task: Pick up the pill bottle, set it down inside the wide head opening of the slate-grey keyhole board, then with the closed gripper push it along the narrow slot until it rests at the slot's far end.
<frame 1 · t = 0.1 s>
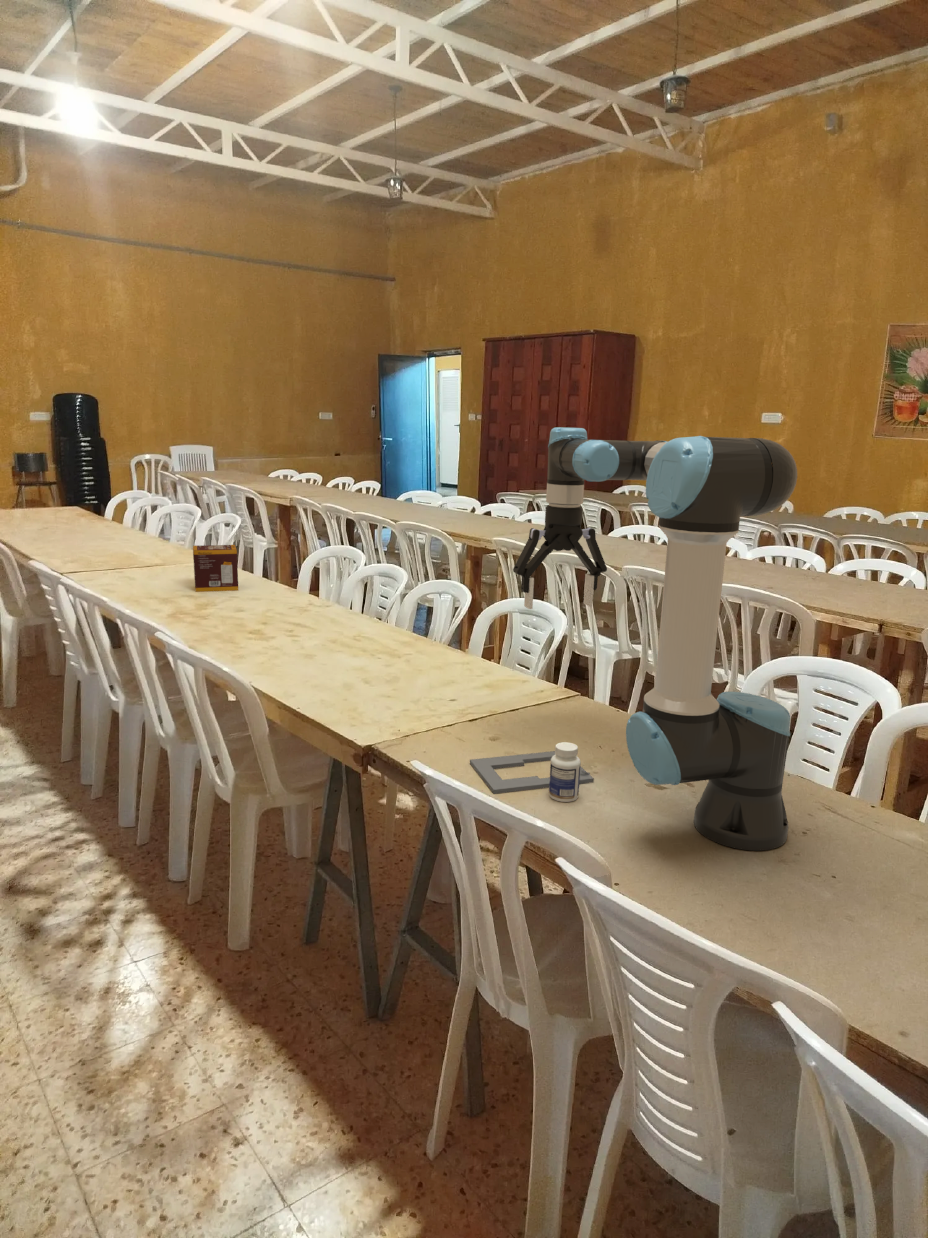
hand: (558, 606, 178), 28 cm above the table, fingers open, 13 cm apart
keyhole board: (530, 772, 163), on the table
supplement box: (216, 589, 316), on the table
pill bottle: (563, 797, 154), on the table
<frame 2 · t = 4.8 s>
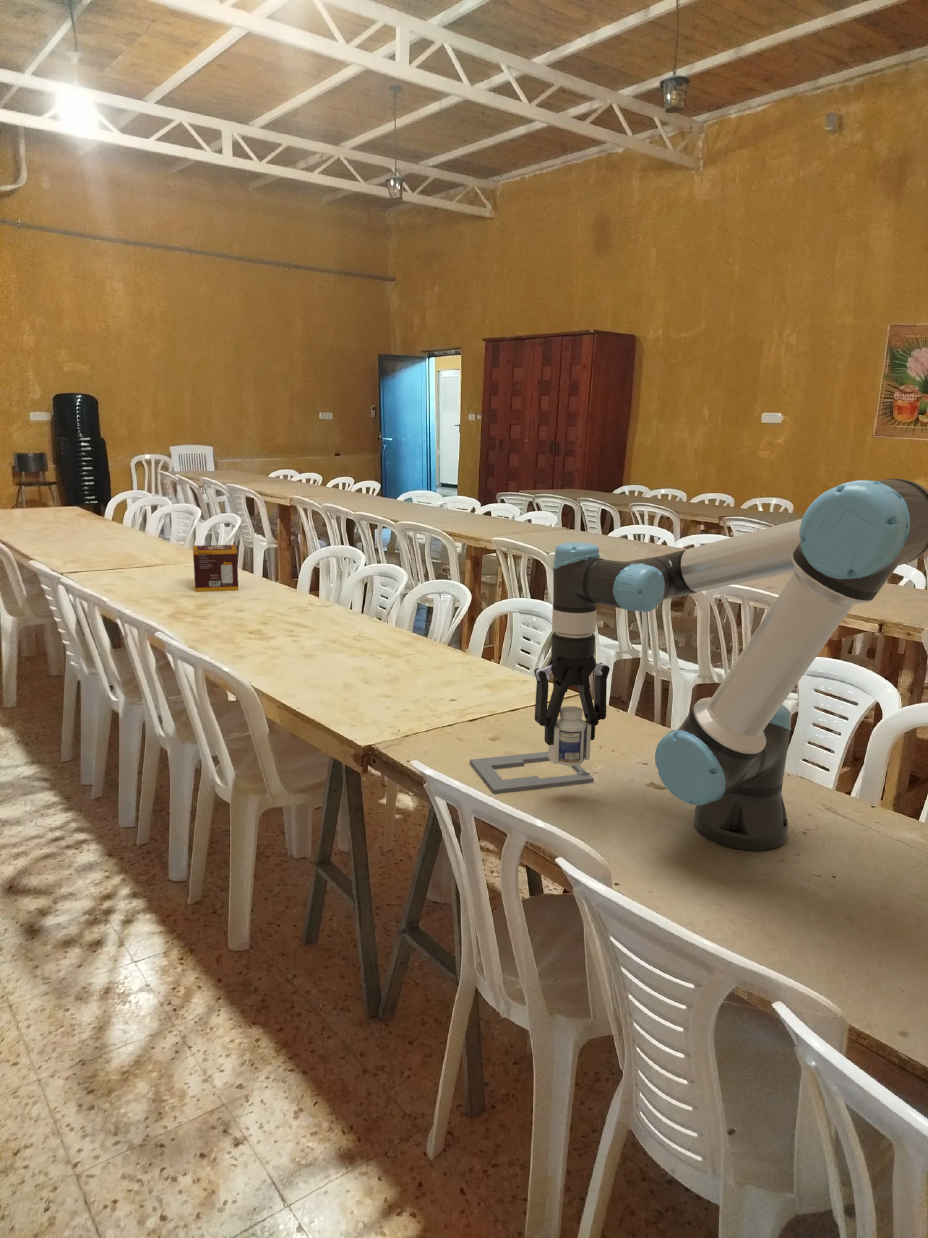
hand: (569, 758, 152), 8 cm above the table, fingers closed on pill bottle, 5 cm apart
pill bottle: (568, 762, 152), point 7 cm above the table, touching gripper
everything else where it was.
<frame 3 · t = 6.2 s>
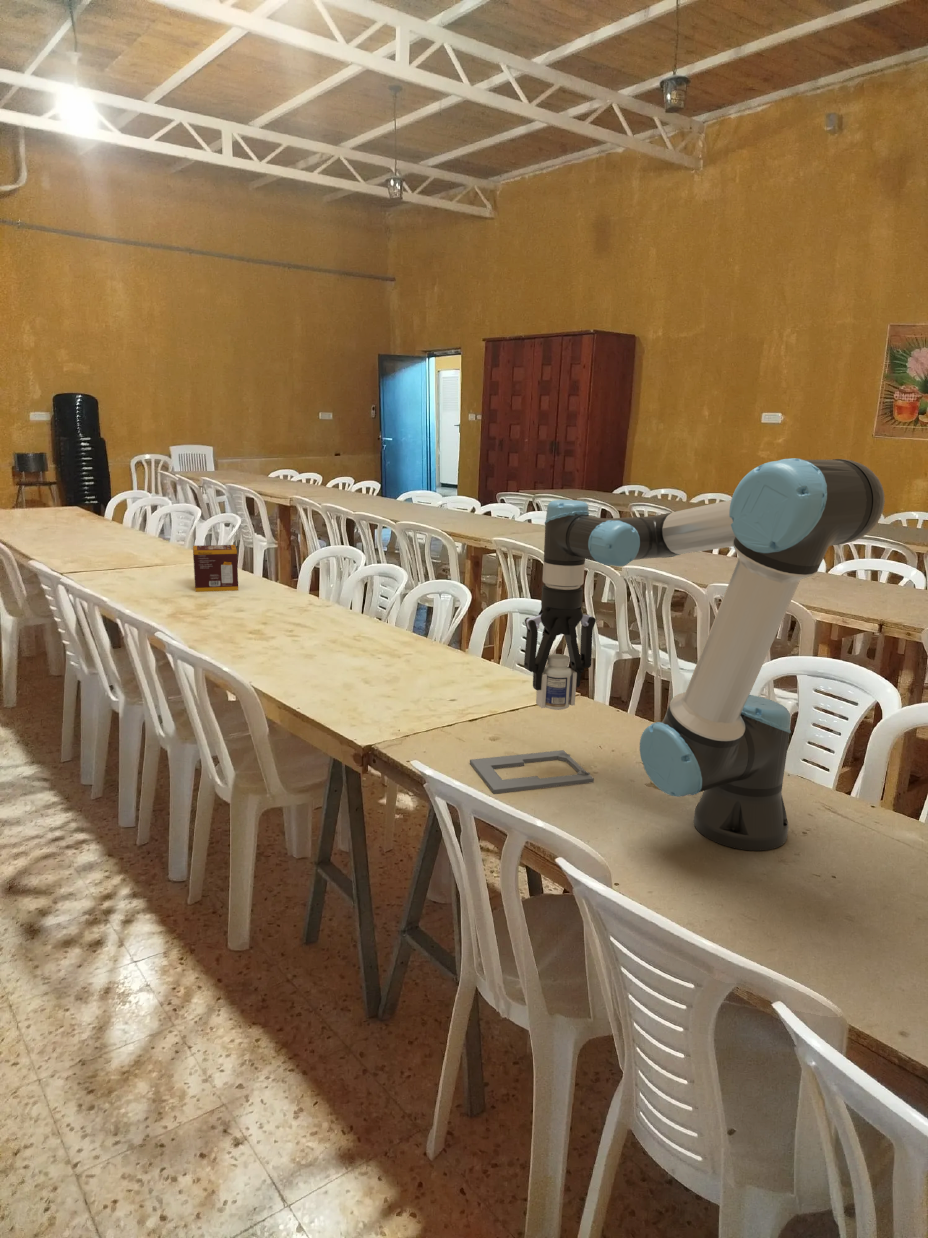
hand: (555, 704, 162), 14 cm above the table, fingers closed on pill bottle, 5 cm apart
pill bottle: (555, 706, 162), point 13 cm above the table, touching gripper
everything else where it was.
when the fingers open (1 cm above the table, at t = 7.7 s): pill bottle stays where it is, resting in keyhole board.
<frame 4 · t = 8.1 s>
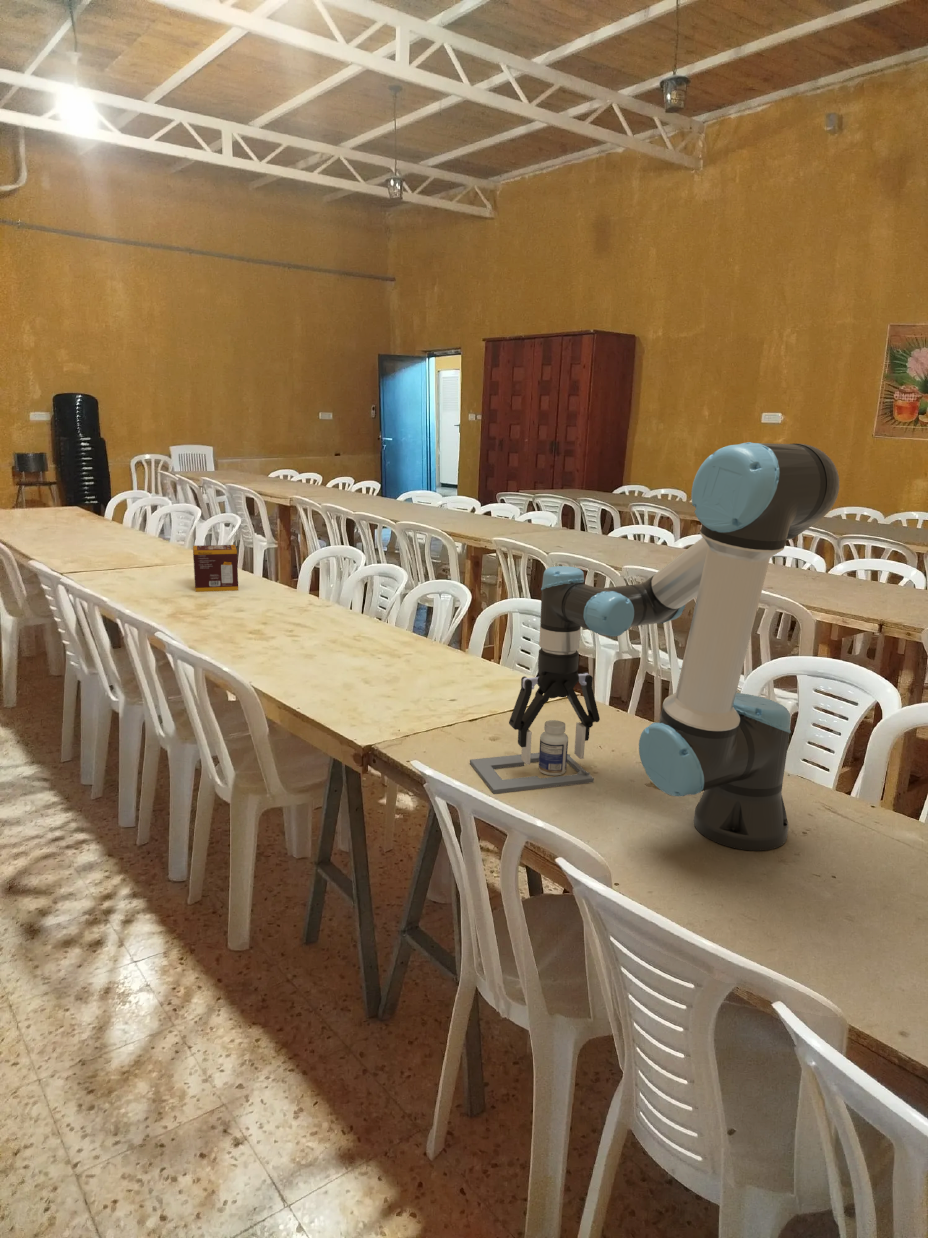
hand: (552, 759, 164), 2 cm above the table, fingers open, 10 cm apart
pill bottle: (552, 771, 165), resting in keyhole board
everything else where it was.
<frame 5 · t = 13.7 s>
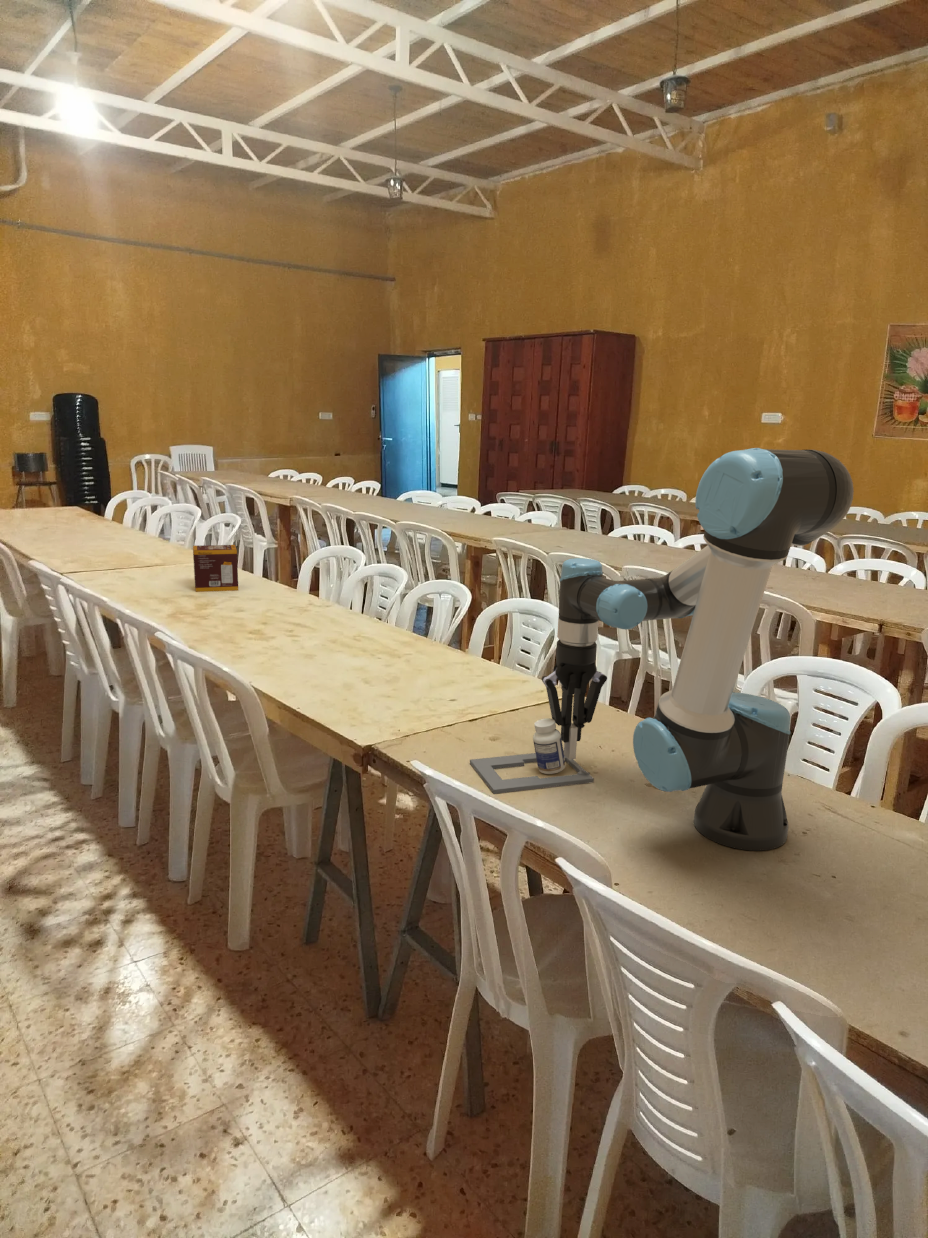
hand: (569, 756, 166), 2 cm above the table, fingers closed
pill bottle: (552, 769, 165), resting in keyhole board, touching gripper
everything else where it was.
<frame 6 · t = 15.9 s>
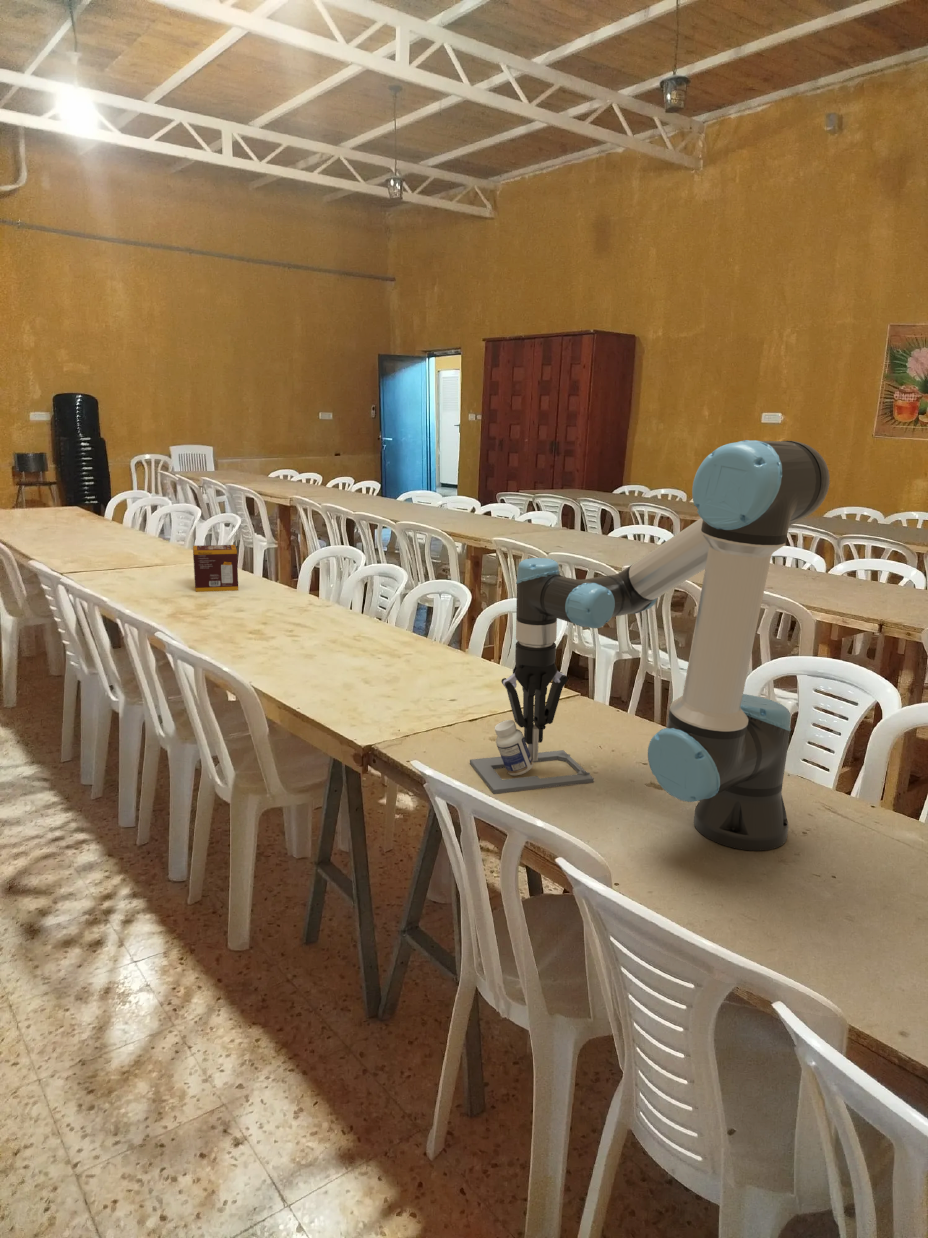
hand: (532, 757, 164), 3 cm above the table, fingers closed
pill bottle: (520, 769, 163), point 1 cm above the table, touching gripper
everything else where it was.
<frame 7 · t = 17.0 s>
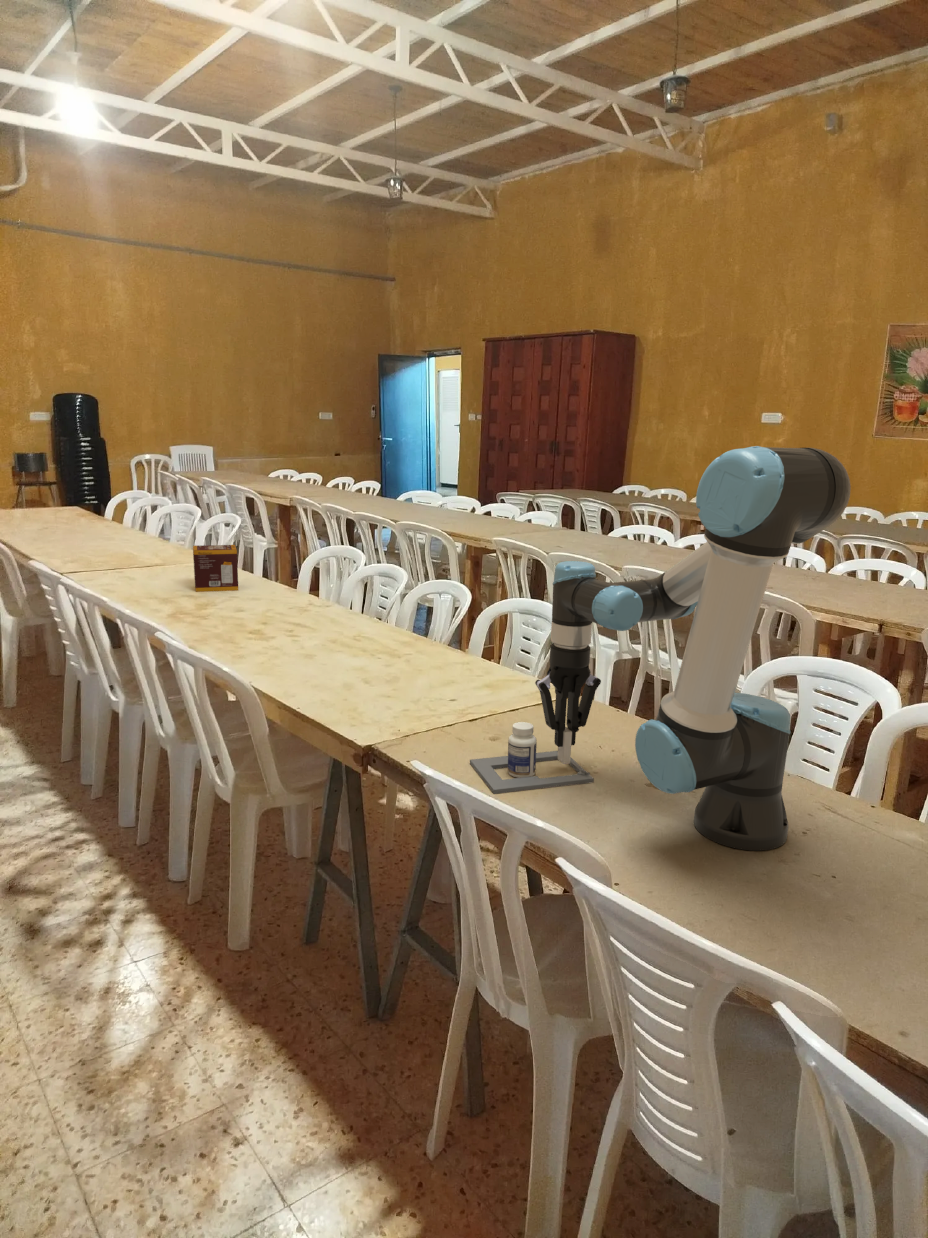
hand: (563, 761, 165), 2 cm above the table, fingers closed
pill bottle: (521, 774, 163), resting in keyhole board
everything else where it was.
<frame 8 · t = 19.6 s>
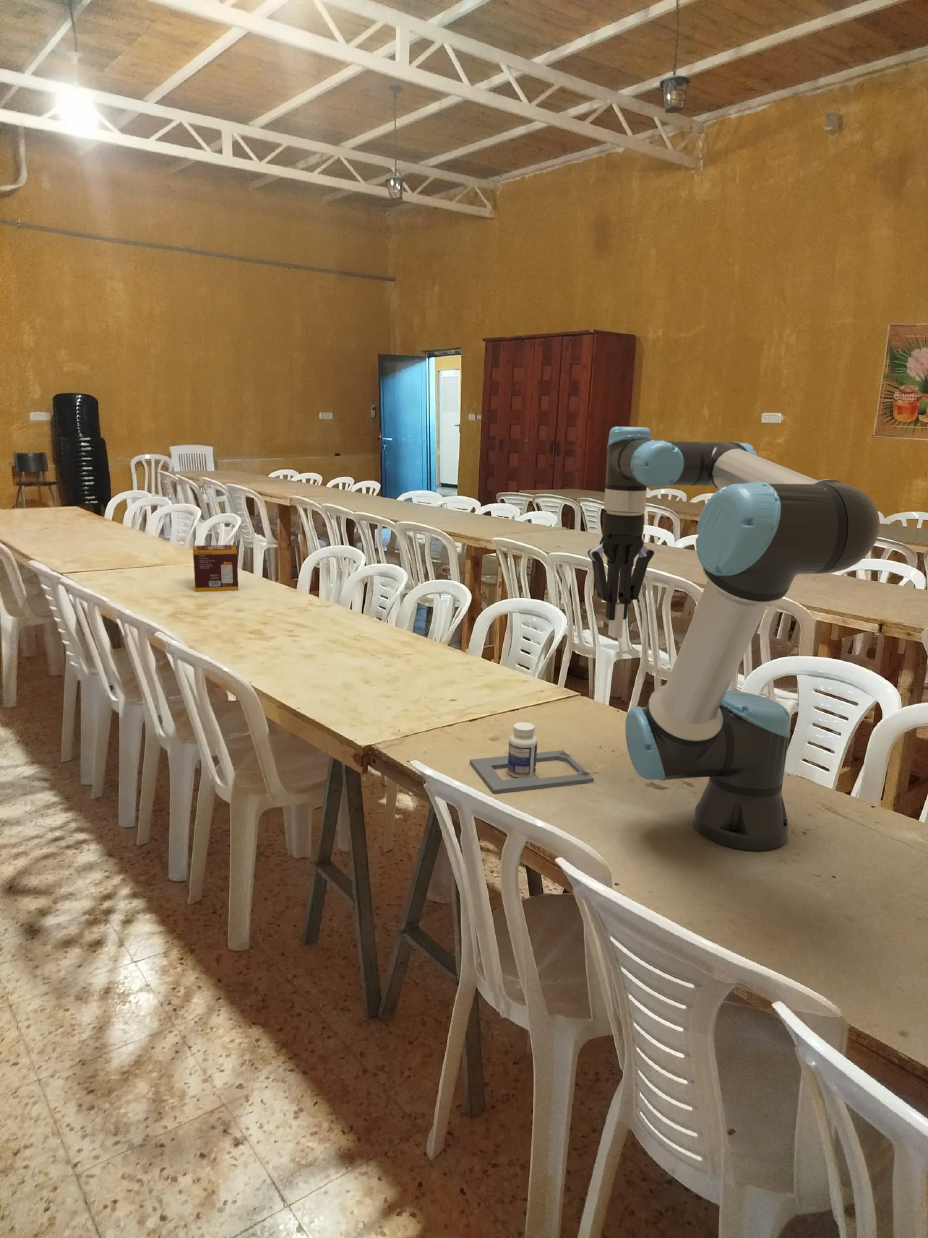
hand: (614, 636, 162), 26 cm above the table, fingers closed
nothing on the table moved.
at the end: pill bottle 2.7 cm from the target spot on the keyhole board, point 0.0 cm above the keyhole board's base; pill bottle tilted 1° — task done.
